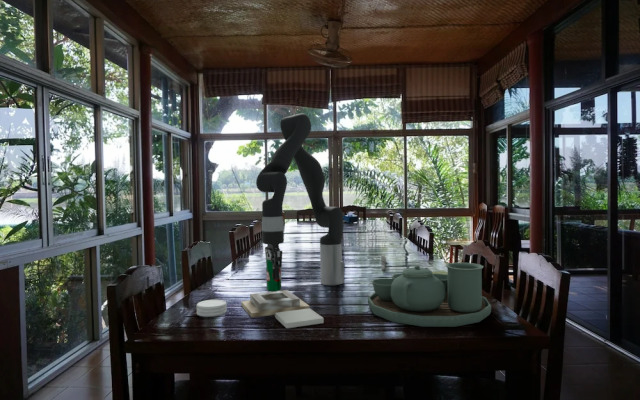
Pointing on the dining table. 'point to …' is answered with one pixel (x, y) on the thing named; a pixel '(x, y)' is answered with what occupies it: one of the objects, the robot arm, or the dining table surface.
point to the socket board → (269, 312)
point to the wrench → (383, 261)
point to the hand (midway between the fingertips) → (273, 277)
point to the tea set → (432, 297)
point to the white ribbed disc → (211, 308)
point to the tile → (298, 318)
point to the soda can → (271, 283)
